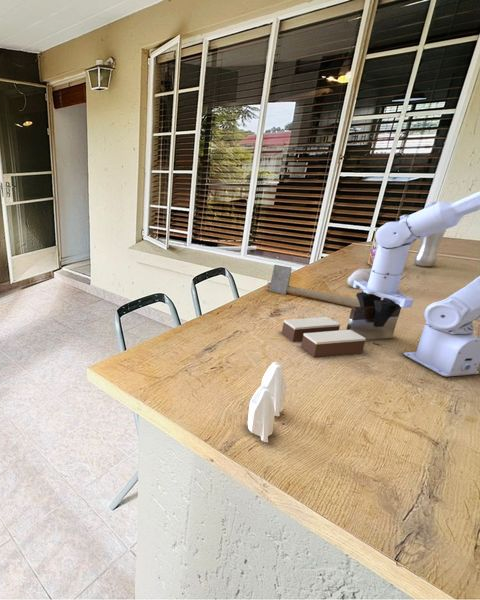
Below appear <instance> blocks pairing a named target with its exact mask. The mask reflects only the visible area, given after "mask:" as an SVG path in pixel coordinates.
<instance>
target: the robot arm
mask: <svg viewBox="0 0 480 600" xmlns="http://www.w3.org/2000/svg"><path fill="white" fill-rule="evenodd" d="M424 206H425V208H422V209H420V210H418V211H416V212H412V213H411V214H403V215H401V216H399V220H397V221H388V222H385V223H384V224H383V225H381V226H380V227H378V228H379V229H378V230H377V232H376V234H375V233H374V235H375V239H376V241H377V243H378V247H377V250H376V254H375V258H374V261H373V265H372V266H371V268H370V269H371V273H370V277H369V281H368V282H366V281H363V280H354V284H353V287H352V288H353V289H359V290H361V292H356V295H355V297H356V299H358V300H359V303H360V307H365V306H375V317H374V322H373V326H375V327H383V326H384V325H385V323H386V322H387V320H388V319H389V318H390V316H391V315H392V314H393V313H394V312H395V311H396V310H397V309H399V308H400V307H401V309H402V308H403V309H404V308H412V306H413V303H414V301H415V299H414V298H412V297H409V296H407V295H406V294H404V293H402V292H401V291H399V286H400V283H401V280H402V276H403V273H404V269H405V267H406V263H407V259H408V255H409V252H410V248H411V245H412V244H413V243H415V242H416V241H417V240H422V238H423V237H426V236H429V235H432V234H434V233H437V232H440V231H442V230H445V229H446V230H447V229H450V228H453V227H455V226H457V225H458V224H459V222H460V221H461V219H462V217H464V216H467V215H469V214H472V213H476V212H478V211H480V190H479V191H477V192H475V193H473V194H470V195H468V196H466V197H464V198H462V199H459V200H457V201H455V202H449V201H446V200H445V201H443V200H441V201H438V202H437V201H432V202H431V201H430V202H429V203H427V204H425V205H424ZM423 317H424V319H425V324H424V326H423V329H422V333H421V335H420V338H419V341H418V344H417V348H416V350H415V351H409V352H408V351H407V352H404V353H403V356H405V357H407V358H409V359H410V360H413V361H415V362H416V363H418V364H420V365H421V366H424V367H426V368H427V369H429V370H430V371H432V372H435V373H436V374H438V375H440V376H441V377H446V378H447V377H457V376H469V375H470V376H471V375H479V374H480V371H479V366H480V338H479V337H478V336H477V335H476V334H475V333H474V330H475V327H474V323H473V322H474V321H476V320H478V319H480V275H478V277H476V278H475V279H474V280H472V281H471V282H470V283H468V284H467V285H465V286H464V287H462V288H460V289H459V290H457V291H456V292H454V293H452V294H451V295H449V296H448V297H447V298H444V299H441V300H437V301H435V302H432V303H430V304H428V306H426V308H425V309H424V314H423Z"/></svg>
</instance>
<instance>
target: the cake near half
mask: <svg viewBox="0 0 480 600" xmlns="http://www.w3.org/2000/svg"><path fill="white" fill-rule="evenodd" d="M303 335H304V336H303V340H302V341H301V346H300V348H301V349H302V350H304V351H305V352H306V353H308V354H309V355H311V356H312V357H313V358H319V357H320V358H321V357H331V356H342V355H353V354H354V355H355V354H356V355H357V354H363V351H364V347H365V344H366V341H367V340H366V338H364V337H363V336H361V335H359V334H357V333H355V332H354V331H352V330H346V329H341V330H340V329H339V331H326V332H314V333H304V334H303Z"/></svg>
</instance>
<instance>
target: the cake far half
mask: <svg viewBox="0 0 480 600" xmlns="http://www.w3.org/2000/svg"><path fill="white" fill-rule="evenodd" d="M340 327H341V323H339V322H337V321H335V320H334V319H332V318H331V317H328V316H318V317H306V318H305V317H304V318H292V319H284V320H283V324H282V330H281V334H282V335H283V336H284V337H286V338H287V339H288V340H290V341H291V342H302V340H303V336H304V335H303V334H304V333H314V332H326V331H339V330H340Z"/></svg>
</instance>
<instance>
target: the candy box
mask: <svg viewBox="0 0 480 600" xmlns="http://www.w3.org/2000/svg"><path fill="white" fill-rule="evenodd" d="M379 228H380V227H375V231H374V235H373V239H372V244H371V248H370V253H369V258H368V261H367V263H368V265H370V266H371V267H372V265H373V261H374V258H375V254H376V250H377V247H378V243H377V241H376V239H375V234H376V232H377V230H378V229H379Z"/></svg>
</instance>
